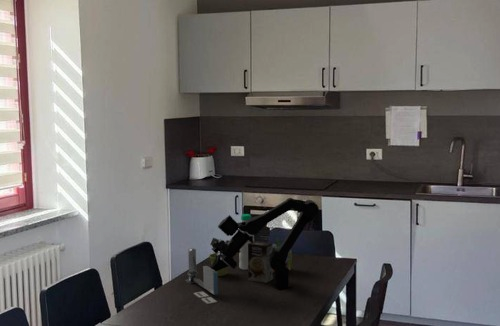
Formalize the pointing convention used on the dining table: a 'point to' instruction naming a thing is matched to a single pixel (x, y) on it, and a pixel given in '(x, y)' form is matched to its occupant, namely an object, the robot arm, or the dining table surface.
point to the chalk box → (289, 257)
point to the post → (192, 266)
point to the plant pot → (221, 271)
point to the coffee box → (259, 261)
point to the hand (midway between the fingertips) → (210, 272)
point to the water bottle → (244, 247)
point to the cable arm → (208, 280)
